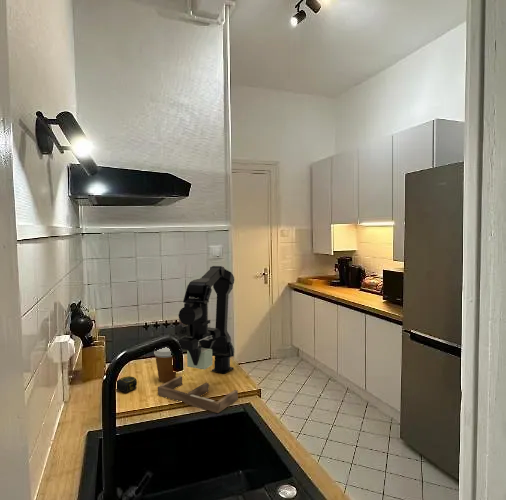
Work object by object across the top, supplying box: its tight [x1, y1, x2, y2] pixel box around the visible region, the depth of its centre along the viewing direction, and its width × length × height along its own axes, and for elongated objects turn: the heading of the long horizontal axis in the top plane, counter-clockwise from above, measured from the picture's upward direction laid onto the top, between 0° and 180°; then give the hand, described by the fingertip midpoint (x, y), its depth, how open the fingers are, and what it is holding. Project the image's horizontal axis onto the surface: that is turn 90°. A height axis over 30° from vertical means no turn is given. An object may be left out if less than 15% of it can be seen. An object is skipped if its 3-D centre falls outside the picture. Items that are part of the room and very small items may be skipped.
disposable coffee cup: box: [153, 347, 177, 383], centre depth 142 cm, size 10×10×12 cm
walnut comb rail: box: [157, 375, 239, 414], centre depth 126 cm, size 11×26×3 cm, turn 59°
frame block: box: [186, 348, 213, 370], centre depth 128 cm, size 5×7×6 cm
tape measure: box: [116, 375, 138, 393], centre depth 133 cm, size 7×7×4 cm
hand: (199, 362), depth 128 cm, fingers closed on frame block, 5 cm apart
